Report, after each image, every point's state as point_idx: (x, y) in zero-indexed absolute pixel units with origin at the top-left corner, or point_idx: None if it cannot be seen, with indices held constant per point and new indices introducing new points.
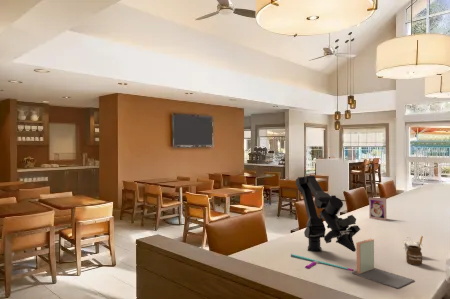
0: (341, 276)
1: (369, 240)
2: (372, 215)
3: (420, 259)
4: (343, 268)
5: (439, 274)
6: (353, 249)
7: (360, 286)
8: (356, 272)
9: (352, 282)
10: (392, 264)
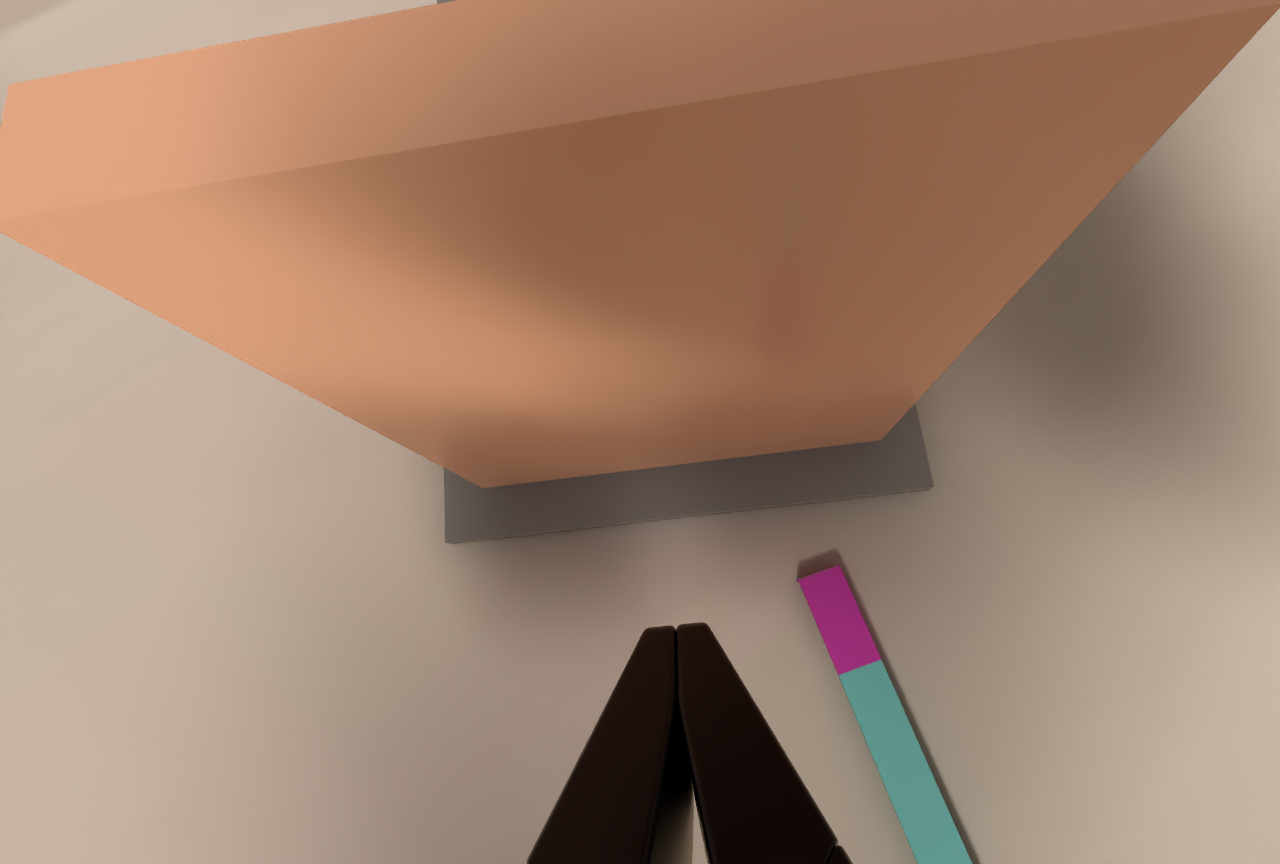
0: (1205, 487)
1: (315, 43)
2: None
3: None
4: (910, 727)
5: (49, 23)
6: (723, 669)
7: (1184, 122)
8: (870, 454)
9: (1198, 250)
10: (80, 454)
